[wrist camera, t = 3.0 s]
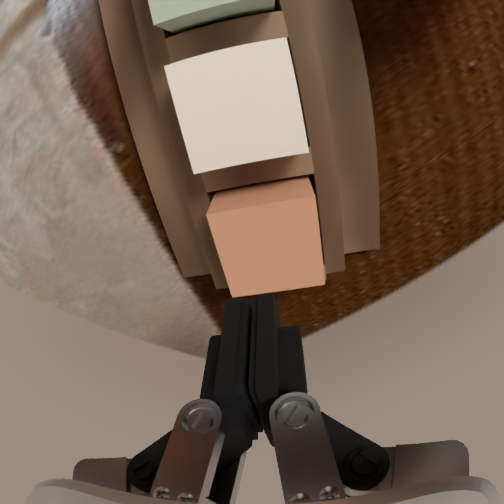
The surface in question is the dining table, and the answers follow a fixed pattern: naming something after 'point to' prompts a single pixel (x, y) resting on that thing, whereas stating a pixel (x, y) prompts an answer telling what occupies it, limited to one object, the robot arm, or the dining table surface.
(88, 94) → the dining table surface
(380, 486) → the robot arm
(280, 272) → the tan block
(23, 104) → the dining table surface
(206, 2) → the green block
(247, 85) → the tile
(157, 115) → the long wooden tray
